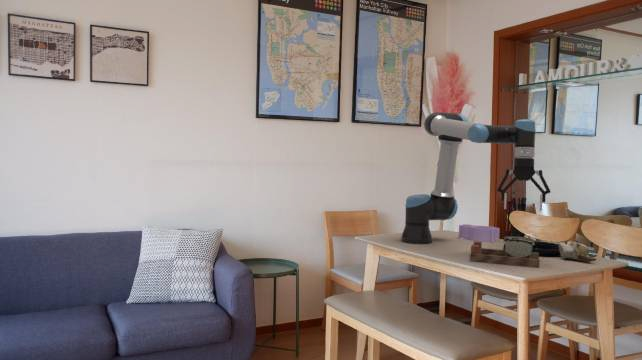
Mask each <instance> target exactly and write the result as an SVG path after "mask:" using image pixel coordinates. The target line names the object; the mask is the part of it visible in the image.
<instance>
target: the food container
mask: <svg viewBox="0 0 642 360" xmlns="http://www.w3.org/2000/svg"><path fill="white" fill-rule="evenodd" d="M534 241H535V240H534V238H531V237H524V236H515V235H514V236H513V235H512V236H511V235H509V236H504V238H503V243H504V244H505V249H504V250H505V251H506V257H517V258H529V259H531V254H532V247H533V246H534V245H535V244H534Z"/></svg>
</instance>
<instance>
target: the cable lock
mask: <svg viewBox="0 0 642 360" xmlns="http://www.w3.org/2000/svg"><path fill="white" fill-rule="evenodd" d="M533 241H534V244H535V245H534V246H533V247H532V252H534V253H539V257H541V256H543V257H545V258H549V257H550V258H554V257H553V256H559V257H561V254H560V251H559V243H555V242H549V241H548V242H547V241H539V240H533ZM503 250H505V243H504V244H503ZM543 257H542V258H543Z"/></svg>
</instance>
